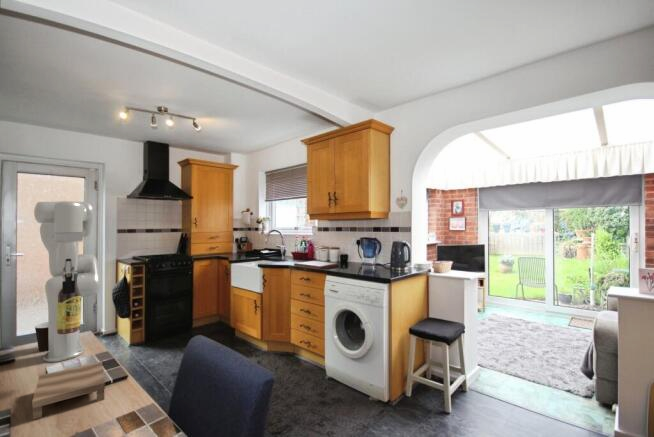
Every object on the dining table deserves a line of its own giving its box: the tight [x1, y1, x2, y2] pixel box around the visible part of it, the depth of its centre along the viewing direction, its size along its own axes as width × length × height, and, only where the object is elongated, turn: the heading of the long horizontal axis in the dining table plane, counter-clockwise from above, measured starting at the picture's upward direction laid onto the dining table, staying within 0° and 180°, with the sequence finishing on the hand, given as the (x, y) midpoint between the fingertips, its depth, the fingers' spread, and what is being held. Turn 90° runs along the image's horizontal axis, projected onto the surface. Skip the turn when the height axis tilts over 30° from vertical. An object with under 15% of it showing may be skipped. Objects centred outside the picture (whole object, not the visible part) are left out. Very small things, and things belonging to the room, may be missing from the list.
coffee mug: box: [34, 321, 49, 353], centre depth 133 cm, size 12×9×10 cm
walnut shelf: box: [31, 361, 106, 420], centre depth 97 cm, size 18×16×5 cm
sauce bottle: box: [57, 272, 82, 334], centre depth 107 cm, size 6×6×20 cm
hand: (69, 291), depth 107 cm, fingers closed on sauce bottle, 5 cm apart
